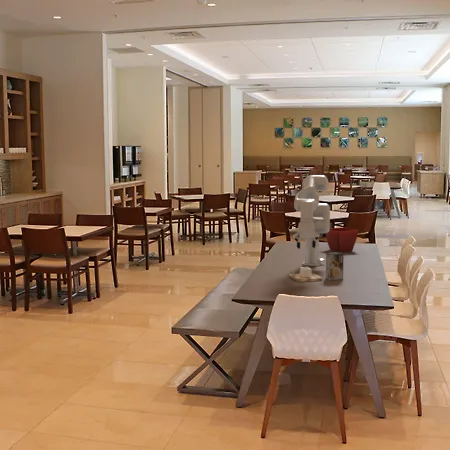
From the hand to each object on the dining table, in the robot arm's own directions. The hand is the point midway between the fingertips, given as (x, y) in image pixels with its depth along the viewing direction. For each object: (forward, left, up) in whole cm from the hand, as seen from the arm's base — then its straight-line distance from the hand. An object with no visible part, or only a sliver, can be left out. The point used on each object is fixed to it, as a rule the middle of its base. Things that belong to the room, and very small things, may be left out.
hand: (306, 247), depth 383 cm
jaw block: (0, 0, -18) cm, 18 cm away
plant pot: (-61, -87, -19) cm, 108 cm away
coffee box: (-17, +5, -19) cm, 26 cm away
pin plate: (0, 0, -19) cm, 19 cm away
